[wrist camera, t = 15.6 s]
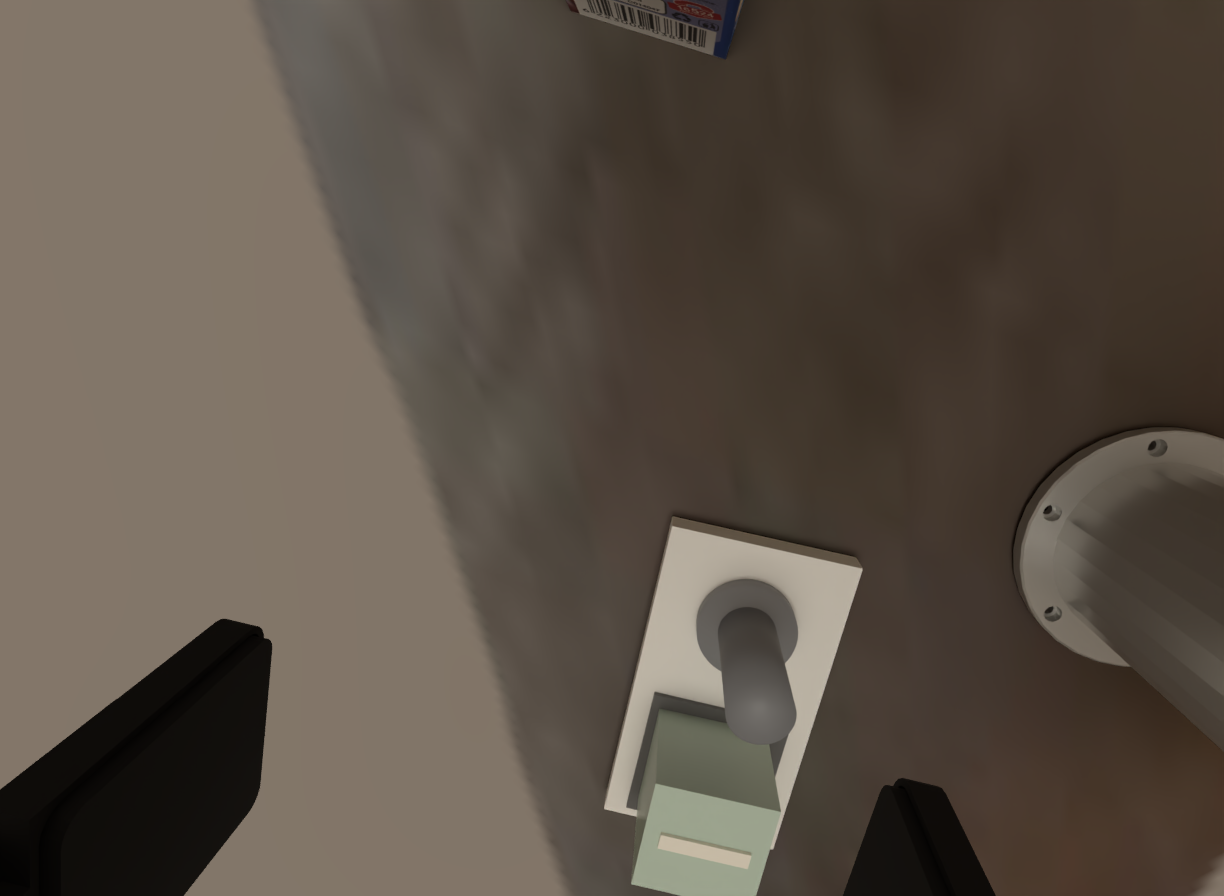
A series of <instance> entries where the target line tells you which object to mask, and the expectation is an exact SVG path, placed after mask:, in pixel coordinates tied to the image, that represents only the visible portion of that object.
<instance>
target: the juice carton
mask: <svg viewBox="0 0 1224 896" xmlns="http://www.w3.org/2000/svg"><path fill="white" fill-rule="evenodd" d="M566 2H567V4H568V6H569V8H570V10H571V12H574V13H578V14H581V15H584V16H587V17H591V18H594V19H597V20H600V21H603V22H607V23H610V24H613V25H616V26H620V27H623V28H626V29H629V30H632V31H636V32H639V33H642V34H645V35H648V36H652V37H655V38H658V39H661V40H665V41H668V42H671V43H674V44H677V45H681V46H684V47H687V48H690V49H694V50H697V51H700V52H703V53H706V54H710V55H713V56H716V57H719V58H722V59H726V57H727V54H728V50H729V47H730V44H731V41H732V38H733V34H734V31H735V28H736V25H737V22H738V18H739V15H740V12H741V9H742V5H743V2H744V0H566Z"/></svg>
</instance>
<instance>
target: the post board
mask: <svg viewBox="0 0 1224 896" xmlns="http://www.w3.org/2000/svg"><path fill="white" fill-rule="evenodd" d="M862 570H863V568H862V567H861V565H860V563H859V561H858V560H857V558H856V557H852V556H848V555H844V554H839V553H835V552H830V551H826V550H821V549H817V548H812V547H808V546H803V545H799V544H794V543H790V542H786V541H781V540H777V539H772V538H768V537H763V536H759V535H754V534H750V533H745V532H741V531H736V530H732V529H728V528H723V527H719V526H714V525H710V524H705V523H701V522H696V521H692V520H687V519H683V518H678V517H674V516H672V520H671V524H670V528H669V533H668V537H667V541H666V545H665V549H664V553H663V558H662V562H661V566H660V570H659V574H658V578H657V583H656V587H655V591H654V595H653V599H652V604H651V608H650V612H649V616H648V620H647V624H646V629H645V633H644V637H643V641H642V645H641V649H640V654H639V658H638V662H637V666H636V670H635V674H634V679H633V683H632V687H631V691H630V695H629V700H628V704H627V708H626V712H625V716H624V720H623V725H622V729H621V733H620V737H619V741H618V745H617V750H616V754H615V758H614V762H613V766H612V770H611V775H610V779H609V783H608V787H607V792H606V799H605V806H604V809H607V810H611V811H615V812H619V813H623V814H628V815H632V816H636V817H637V807H638V797H639V793H640V788H641V784H642V780H643V776H644V772H645V767H646V763H647V759H648V755H649V751H650V746H651V742H652V738H653V734H654V730H655V725H656V721H657V717H658V713H659V708H660V709H664V710H669V711H673V712H678V713H682V714H687V715H691V716H696V717H700V718H705V719H709V720H714V721H718V722H723V723H727V724H728V726H729V728H730V730H731V731H732V732H733V733H734V734H735V735H736V736H737V737H738V738H740V739H741V740H743V741H745V742H748V743H751V744H756V745H767V744H769V747H770V752H771V758H772V763H773V769H774V775H775V780H776V786H777V792H778V797H779V803H780V809H781V814H780V817H779V821H778V824H777V827H776V831H775V834H774V837H773V841H772V844H771V847H770V849H773V848H774V844H775V841H776V838H777V835H778V832H779V829H780V826H781V823H782V819H783V816H784V813H785V810H786V807H787V804H788V801H789V798H790V795H791V791H792V788H793V785H794V782H795V779H796V776H797V773H798V770H799V766H800V763H801V760H802V757H803V754H804V751H805V748H806V745H807V742H808V738H809V735H810V732H811V729H812V726H813V723H814V720H815V717H816V713H817V710H818V707H819V704H820V701H821V698H822V695H823V692H824V688H825V685H826V682H827V679H828V676H829V673H830V670H831V667H832V664H833V660H834V657H835V654H836V651H837V648H838V645H839V642H840V639H841V635H842V632H843V629H844V626H845V623H846V620H847V617H848V614H849V611H850V607H851V604H852V601H853V598H854V595H855V592H856V589H857V586H858V582H859V579H860V576H861V573H862Z"/></svg>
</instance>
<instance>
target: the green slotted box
mask: <svg viewBox="0 0 1224 896" xmlns="http://www.w3.org/2000/svg"><path fill="white" fill-rule="evenodd" d="M780 814H781V809H780V803H779V797H778V792H777V786H776V780H775V775H774V769H773V763H772V758H771V752H770V747H769V744H767V745H756V744H751V743H748V742H745V741H743V740H741V739H740V738H738V737H737V736H736V735H735V734H734V733H733V732H732V731H731V730H730V728H729V726H728V724H727V723H723V722H718V721H714V720H709V719H705V718H700V717H696V716H691V715H687V714H682V713H678V712H673V711H669V710H664V709H660V708H659V713H658V717H657V721H656V725H655V730H654V734H653V738H652V742H651V746H650V751H649V755H648V759H647V763H646V767H645V772H644V776H643V780H642V784H641V788H640V793H639V797H638V807H637V819H636V831H635V843H634V856H633V868H632V880H631V884H633V885H637V886H642V887H646V888H650V889H655V890H659V891H663V892H668V893H672V894H676V895H680V896H756V894H757V890H758V887H759V884H760V880H761V877H762V874H763V870H764V867H765V864H766V860H767V857H768V854H769V851H770V847H771V844H772V841H773V837H774V834H775V831H776V827H777V824H778V821H779V817H780Z"/></svg>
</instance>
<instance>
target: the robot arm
mask: <svg viewBox="0 0 1224 896" xmlns="http://www.w3.org/2000/svg"><path fill="white" fill-rule="evenodd" d="M1150 443H1151V444H1150ZM1149 444H1150V446H1149ZM1148 446H1149V447H1148ZM1047 506H1048V509H1047V510H1046V511H1044V509H1045V508H1046V507H1047ZM1013 564H1014V574H1015V578H1016V583H1017V587H1018V591H1019V593H1020V595H1021V597H1022V599H1023V601H1024V603H1025V605H1026V607H1027V609H1028V610H1029V612H1030V613H1031V614H1032V615H1033V617H1034V618H1035V619H1036V620H1037V622H1038V623H1039V624H1040V625H1041V626H1042V627H1043V628H1044V629H1045V630H1046V631H1047V632H1048V633H1049V634H1050V635H1051V636H1052V637H1053V638H1054V639H1055V640H1056V641H1058V642H1059V643H1061V644H1062V645H1064V646H1065V647H1067V648H1069V649H1070V650H1072V651H1073V652H1075V653H1077V654H1079V655H1082V656H1084V657H1087V658H1089V659H1092V660H1094V661H1097V662H1102V663H1107V664H1111V665H1116V666H1126V667H1132V668H1133V669H1134V670H1135V671H1136V672H1137V673H1138V674H1140V675H1141V676H1142V677H1143V678H1144V679H1145V680H1146V681H1147V682H1148V683H1149V684H1150V685H1152V686H1153V687H1154V688H1155V689H1156V690H1157V691H1158V692H1159V693H1160V694H1161V695H1162V696H1164V697H1165V698H1166V699H1167V700H1168V701H1169V702H1170V703H1171V704H1172V705H1173V706H1174V707H1176V708H1177V709H1178V710H1179V711H1180V712H1181V713H1182V714H1183V715H1184V716H1185V717H1186V718H1188V719H1189V720H1190V721H1191V722H1192V723H1193V724H1194V725H1195V726H1196V727H1197V728H1198V729H1200V730H1201V731H1202V732H1203V733H1204V734H1205V735H1206V736H1207V737H1208V738H1209V739H1210V740H1211V741H1213V742H1214V743H1215V744H1216V745H1217V746H1218V747H1219V748H1220V749H1221V750H1222V751H1223V752H1224V439H1222V438H1219V437H1216V436H1213V435H1210V434H1208V433H1205V432H1200V431H1195V430H1190V429H1185V428H1179V427H1151V428H1145V429H1138V430H1132V431H1126V432H1123V433H1120V434H1117V435H1114V436H1111V437H1108V438H1105V439H1102V440H1100V441H1098V442H1096V443H1094V444H1092V445H1090V446H1088V447H1087V448H1085V449H1083V450H1081V451H1079V452H1077V453H1076V454H1075V455H1073V456H1072V457H1071V458H1069V459H1068V460H1067V461H1065V462H1064V463H1063V464H1061V465H1060V466H1059V467H1057V468H1056V469H1055V470H1054V471H1053V472H1052V474H1051V475H1050V476H1049V477H1048V478H1047V479H1046V480H1045V481H1044V482H1043V483H1042V484H1041V485H1040V486H1039V488H1038V489H1037V491H1036V492H1035V494H1034V495H1033V497H1032V498H1031V500H1030V502H1029V503H1028V505H1027V506H1026V508H1025V511H1024V513H1023V516H1022V518H1021V520H1020V523H1019V525H1018V528H1017V533H1016V538H1015V543H1014V548H1013ZM271 655H272V643H271V641H270V640H269V639H265V638H264V634H263V631H262V629H261V628H260V627H258V626H254V625H249V624H245V623H241V622H237V621H232V620H228V619H220V620H219V621H217V622H215V623H214V624H213V625H212V626H210V627H209V628H208V629H206V630H205V631H204V632H203V633H201V634H200V635H199V636H197V637H196V638H195V639H194V640H192V641H191V642H190V643H188V644H187V645H186V646H185V647H183V648H182V649H181V650H179V651H178V652H177V653H176V654H174V655H173V656H172V657H170V658H169V659H168V660H167V661H166V662H164V663H163V664H162V665H160V666H159V667H158V668H156V669H155V670H154V671H153V672H151V673H150V674H149V675H148V676H146V677H145V678H144V679H142V680H141V681H140V682H138V683H137V684H136V685H135V686H133V687H132V688H131V689H130V690H128V691H127V692H126V693H124V694H123V695H122V696H121V697H119V698H118V699H116V700H115V701H113V702H112V703H111V704H110V705H108V706H107V707H106V708H104V709H103V710H102V711H101V712H99V713H98V714H97V715H95V716H94V717H93V718H91V719H90V720H89V721H88V722H86V723H85V724H84V725H82V726H81V727H80V728H79V729H77V730H76V731H75V732H73V733H72V734H71V735H70V736H68V737H67V738H66V739H65V740H63V741H62V742H61V743H59V744H58V745H57V746H56V747H54V748H53V749H52V750H51V751H49V752H48V753H47V754H45V755H44V756H43V757H41V758H40V759H39V760H38V761H36V762H35V763H34V764H32V765H31V766H30V767H29V768H27V769H26V770H25V771H23V772H22V773H21V774H20V775H19V776H17V777H16V778H15V779H13V780H12V781H11V782H10V783H8V784H7V785H6V786H4V787H3V788H2V789H1V790H0V896H184V894H185V893H186V892H187V891H188V889H189V888H190V887H191V886H192V884H193V883H194V882H195V880H196V879H197V878H198V877H199V875H200V874H201V873H202V871H203V870H204V869H205V868H206V866H207V865H208V864H209V862H210V861H211V860H212V859H213V857H214V856H215V855H216V853H217V852H218V851H219V850H220V848H221V847H222V846H223V845H224V843H225V842H226V841H227V840H228V838H229V837H230V836H231V834H232V833H233V832H234V831H235V829H236V828H237V827H238V825H239V824H240V823H241V822H242V820H243V819H244V818H245V816H246V815H247V814H248V813H249V811H250V810H251V808H252V806H253V804H254V802H255V800H256V798H257V795H258V792H259V788H260V781H261V770H262V758H263V747H264V736H265V725H266V713H267V701H268V690H269V678H270V667H271ZM843 896H996V895H995V893H994V891H993V889H992V887H991V885H990V883H989V881H988V879H987V877H986V875H985V873H984V871H983V869H982V867H981V865H980V863H979V861H978V859H977V857H976V855H975V852H974V850H973V848H972V846H971V844H970V842H969V840H968V838H967V836H966V834H965V832H964V830H963V828H962V826H961V824H960V822H959V820H958V818H957V816H956V814H955V812H954V810H953V808H952V806H951V803H950V801H949V799H948V797H947V795H946V793H945V792H944V791H943V789H942V788H940V787H938V786H934V785H930V784H926V783H922V782H917V781H913V780H909V779H905V778H900V779H898V780H897V781H896V782H895V784H894V786H889V785H885V786H884V787H883V788H882V790H881V792H880V794H879V797H878V800H877V802H876V805H875V808H874V811H873V813H872V816H871V819H870V822H869V825H868V827H867V830H866V833H865V836H864V838H863V841H862V844H861V847H860V850H859V852H858V855H857V858H856V861H855V864H854V866H853V869H852V872H851V875H850V877H849V880H848V883H847V886H846V889H845V891H844V894H843Z"/></svg>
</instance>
